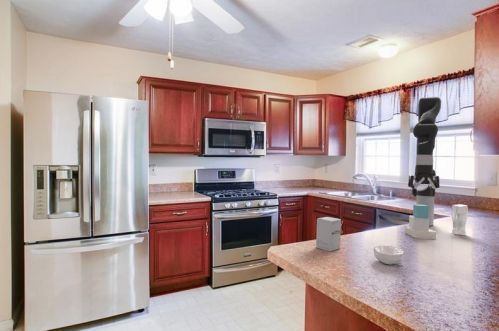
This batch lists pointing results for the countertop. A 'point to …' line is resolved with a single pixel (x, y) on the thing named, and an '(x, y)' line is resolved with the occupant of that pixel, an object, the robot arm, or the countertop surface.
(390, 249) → the white bowl
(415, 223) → the grey cube
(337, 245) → the supplement box
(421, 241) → the countertop surface
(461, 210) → the beer glass
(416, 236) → the cream slab
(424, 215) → the teal block
